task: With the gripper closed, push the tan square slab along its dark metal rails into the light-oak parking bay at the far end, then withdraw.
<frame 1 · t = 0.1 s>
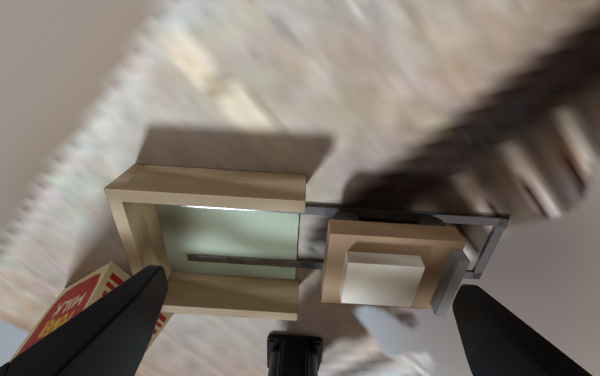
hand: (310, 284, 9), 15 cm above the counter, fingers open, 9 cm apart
rails: (337, 239, 26), on the counter
milk carton: (119, 301, 32), on the counter
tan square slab: (384, 264, 24), point 3 cm above the counter, slide at 0.0 cm
bay: (231, 232, 27), on the counter
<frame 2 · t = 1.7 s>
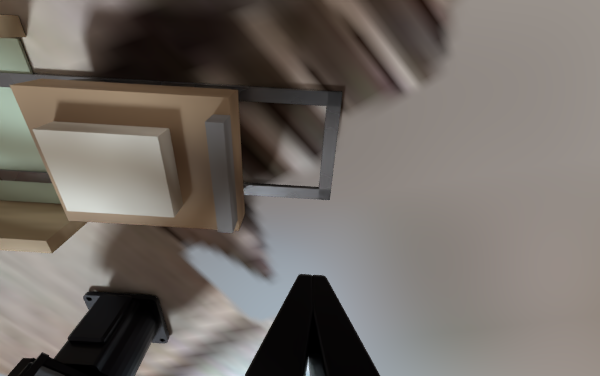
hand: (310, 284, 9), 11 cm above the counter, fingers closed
rails: (112, 136, 18), on the counter
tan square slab: (149, 158, 16), point 3 cm above the counter, slide at 0.0 cm
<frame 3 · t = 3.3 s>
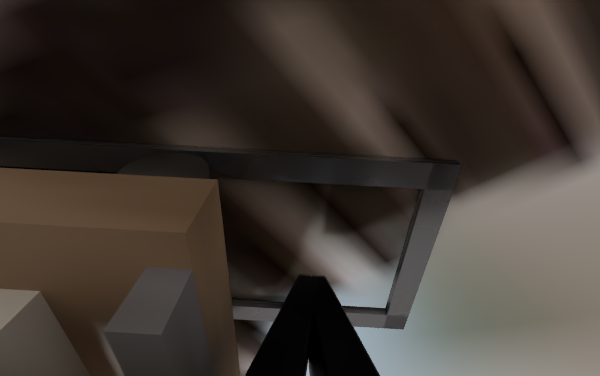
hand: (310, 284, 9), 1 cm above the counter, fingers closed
rails: (14, 233, 10), on the counter
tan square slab: (35, 308, 7), point 3 cm above the counter, slide at 0.6 cm, touching gripper
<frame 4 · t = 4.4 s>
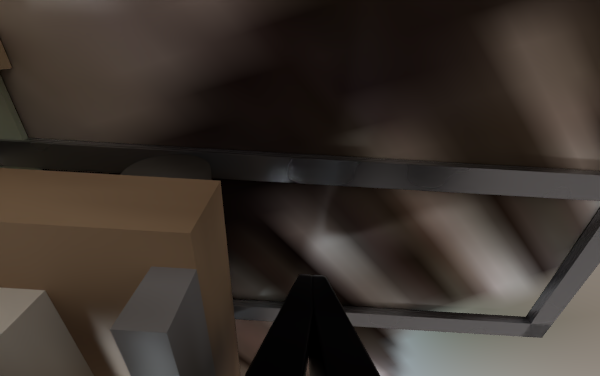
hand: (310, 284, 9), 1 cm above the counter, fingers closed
rails: (175, 242, 10), on the counter
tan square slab: (37, 308, 8), point 3 cm above the counter, slide at 6.2 cm, touching gripper
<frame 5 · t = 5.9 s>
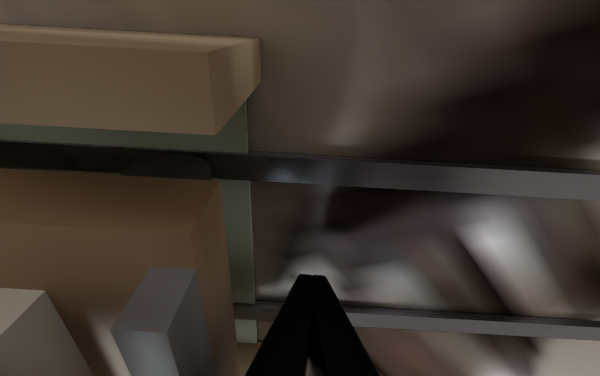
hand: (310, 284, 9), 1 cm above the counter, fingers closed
rails: (357, 252, 10), on the counter
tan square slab: (37, 308, 8), point 3 cm above the counter, slide at 12.6 cm, touching gripper
bay: (79, 236, 10), on the counter
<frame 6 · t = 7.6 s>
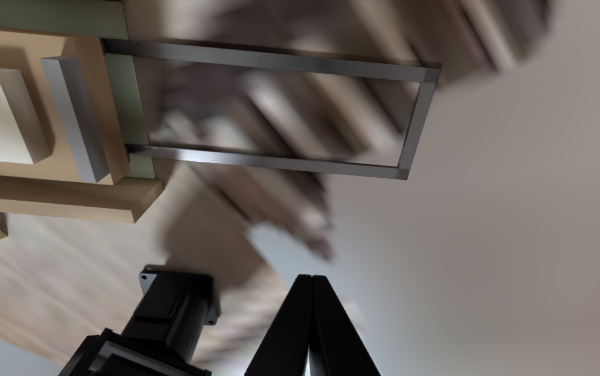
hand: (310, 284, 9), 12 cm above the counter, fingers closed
rails: (198, 108, 18), on the counter
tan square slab: (17, 106, 16), point 3 cm above the counter, slide at 12.7 cm
bay: (44, 94, 18), on the counter
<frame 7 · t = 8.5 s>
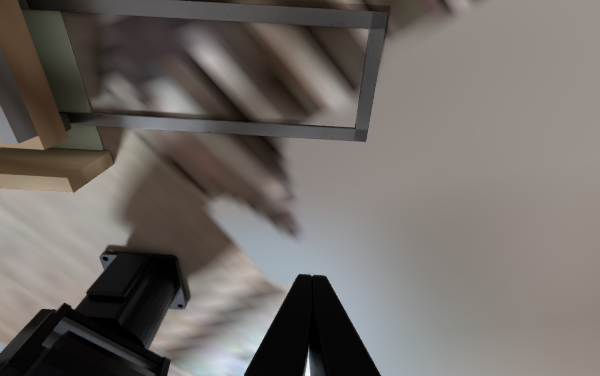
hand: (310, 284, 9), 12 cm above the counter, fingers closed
rails: (137, 69, 17), on the counter
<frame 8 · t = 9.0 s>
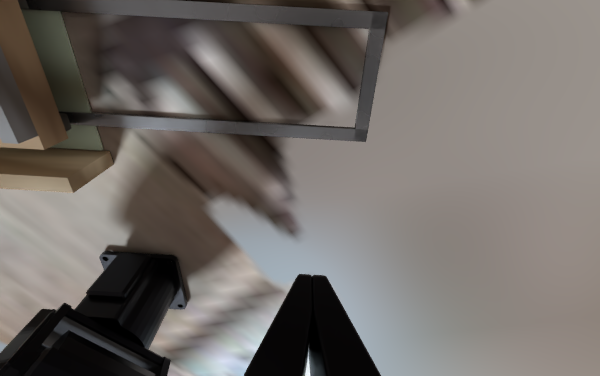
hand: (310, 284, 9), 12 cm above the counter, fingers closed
rails: (137, 69, 17), on the counter
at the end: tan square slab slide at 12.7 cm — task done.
